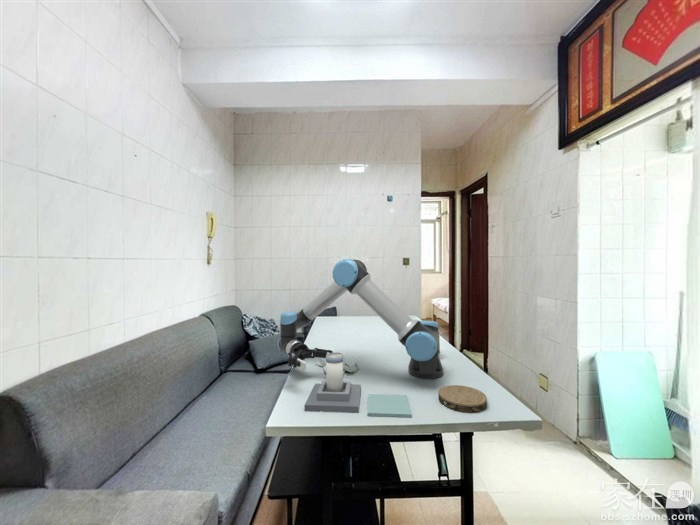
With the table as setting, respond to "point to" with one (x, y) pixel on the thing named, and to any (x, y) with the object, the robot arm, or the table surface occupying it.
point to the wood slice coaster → (463, 399)
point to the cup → (334, 372)
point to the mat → (388, 405)
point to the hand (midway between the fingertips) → (321, 363)
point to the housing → (334, 398)
